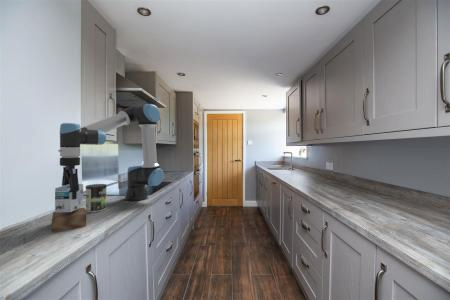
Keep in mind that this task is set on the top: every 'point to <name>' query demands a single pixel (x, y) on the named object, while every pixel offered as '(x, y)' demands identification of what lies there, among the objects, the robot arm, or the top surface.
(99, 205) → the coffee can
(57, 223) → the block
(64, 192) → the light bulb box
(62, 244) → the top surface
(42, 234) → the top surface
